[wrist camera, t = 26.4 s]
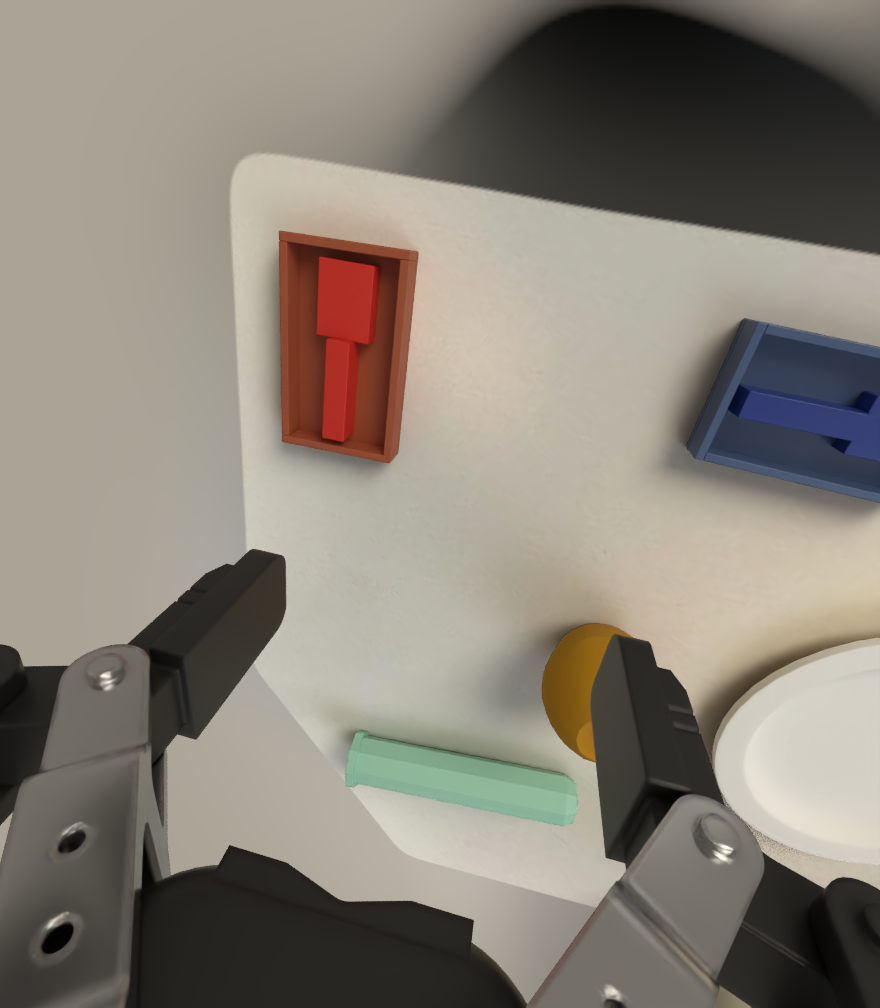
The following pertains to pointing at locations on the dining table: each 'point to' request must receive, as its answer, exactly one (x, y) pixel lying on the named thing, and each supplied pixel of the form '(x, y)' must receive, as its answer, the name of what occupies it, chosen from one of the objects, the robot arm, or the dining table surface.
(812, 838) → the plate
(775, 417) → the blue spoon
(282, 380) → the red tray
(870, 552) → the dining table surface
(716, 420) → the blue tray
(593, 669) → the apple
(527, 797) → the green octagonal rod
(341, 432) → the red spoon
